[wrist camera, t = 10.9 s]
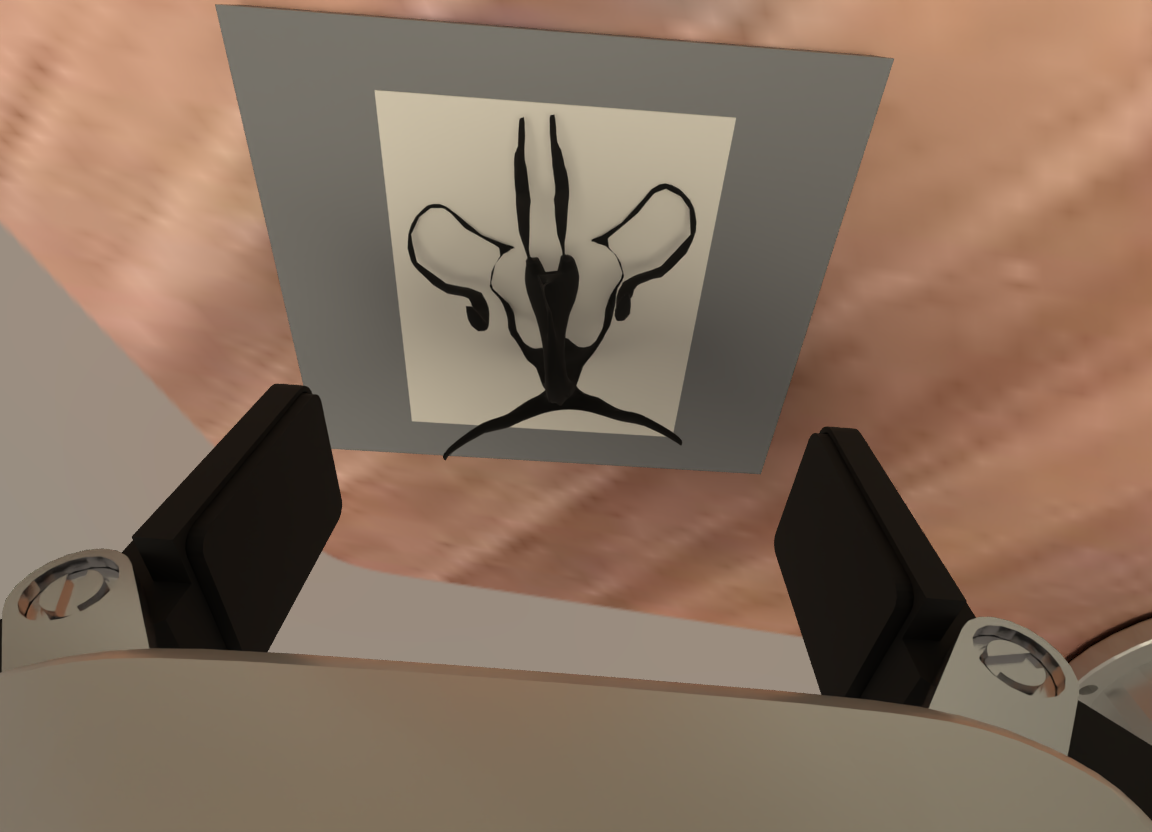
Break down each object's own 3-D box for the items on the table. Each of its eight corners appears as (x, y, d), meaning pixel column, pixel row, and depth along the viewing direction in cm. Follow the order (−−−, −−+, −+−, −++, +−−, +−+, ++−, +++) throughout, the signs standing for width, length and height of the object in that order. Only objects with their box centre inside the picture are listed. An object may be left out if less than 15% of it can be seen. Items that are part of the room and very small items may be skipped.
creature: (399, 136, 16) (447, 407, 19) (310, 116, 11) (394, 488, 14) (689, 108, 16) (691, 391, 18) (732, 74, 11) (726, 469, 14)
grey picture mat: (873, 55, 15) (896, 58, 14) (752, 453, 22) (761, 475, 21) (240, 4, 15) (212, 4, 13) (330, 428, 22) (317, 449, 21)
